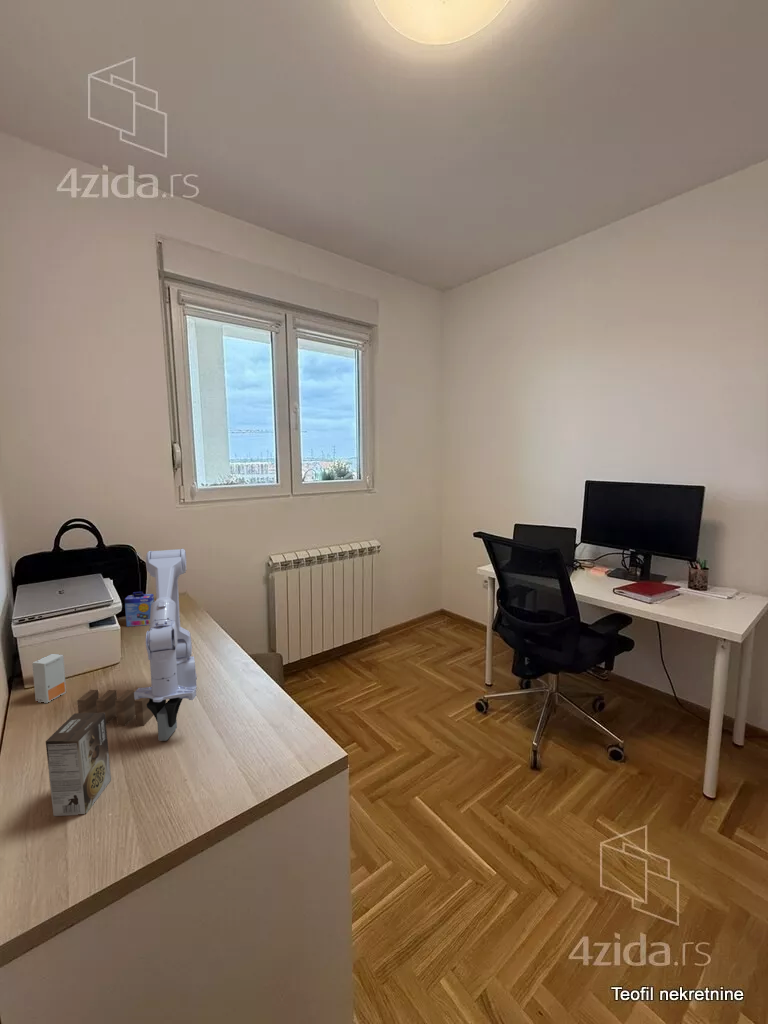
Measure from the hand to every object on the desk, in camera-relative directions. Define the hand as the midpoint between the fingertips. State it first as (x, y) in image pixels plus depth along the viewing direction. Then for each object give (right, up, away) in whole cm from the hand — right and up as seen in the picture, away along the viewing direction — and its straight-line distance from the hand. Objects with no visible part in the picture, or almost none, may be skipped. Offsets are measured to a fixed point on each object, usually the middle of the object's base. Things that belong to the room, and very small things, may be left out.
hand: (167, 724), depth 104 cm
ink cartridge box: (-49, +6, +72) cm, 87 cm away
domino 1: (-24, -2, +7) cm, 26 cm away
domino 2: (-19, -2, +7) cm, 21 cm away
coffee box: (-8, -6, -19) cm, 21 cm away
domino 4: (-9, -2, +7) cm, 12 cm away
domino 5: (0, -3, 0) cm, 2 cm away
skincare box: (-43, -1, +17) cm, 46 cm away
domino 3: (-14, -2, +7) cm, 16 cm away
